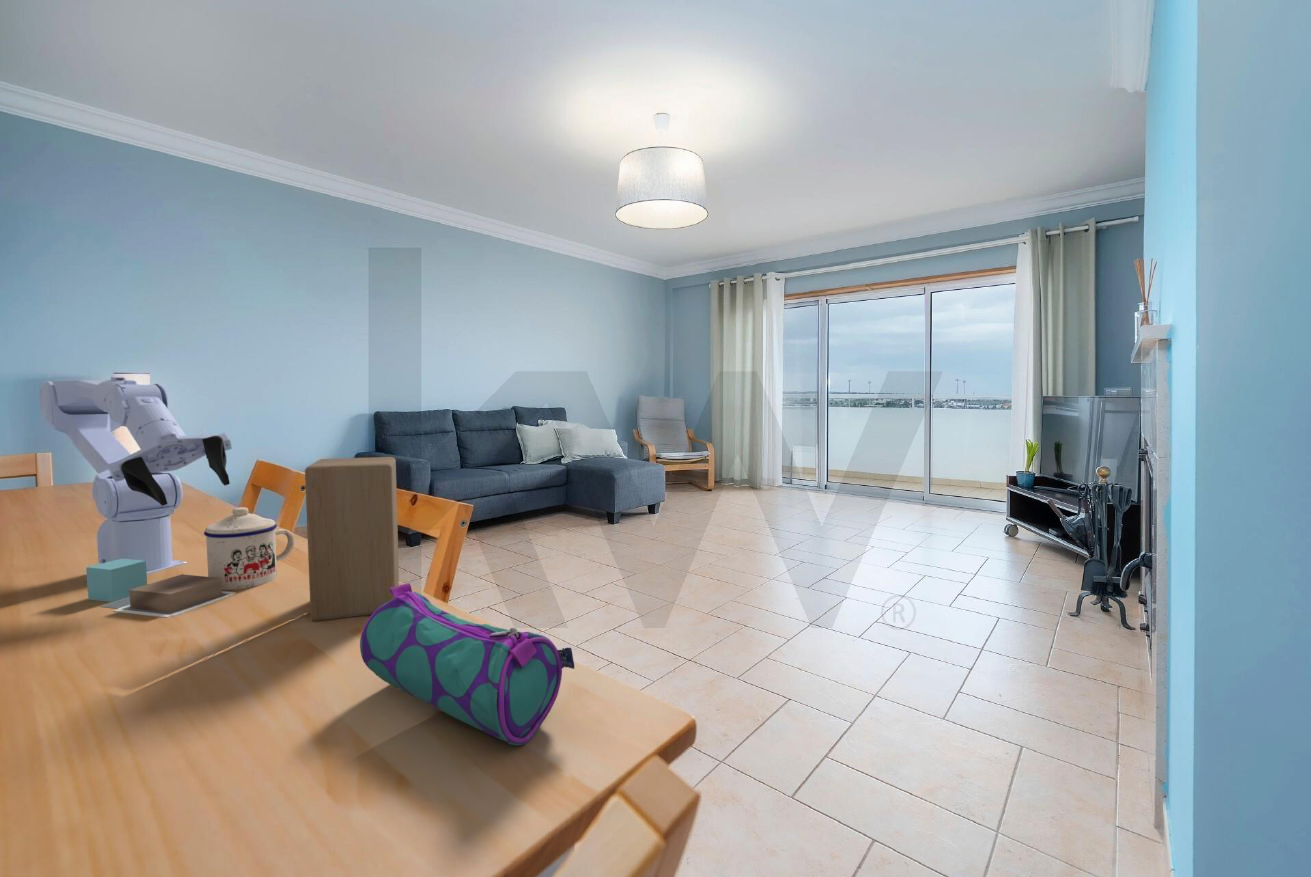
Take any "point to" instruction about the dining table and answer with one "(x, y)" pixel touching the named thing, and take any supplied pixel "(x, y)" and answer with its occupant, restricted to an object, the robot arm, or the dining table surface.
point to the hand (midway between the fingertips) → (195, 489)
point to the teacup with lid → (244, 550)
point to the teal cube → (115, 579)
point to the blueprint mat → (125, 607)
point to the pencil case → (465, 665)
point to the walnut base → (175, 593)
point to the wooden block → (351, 535)
